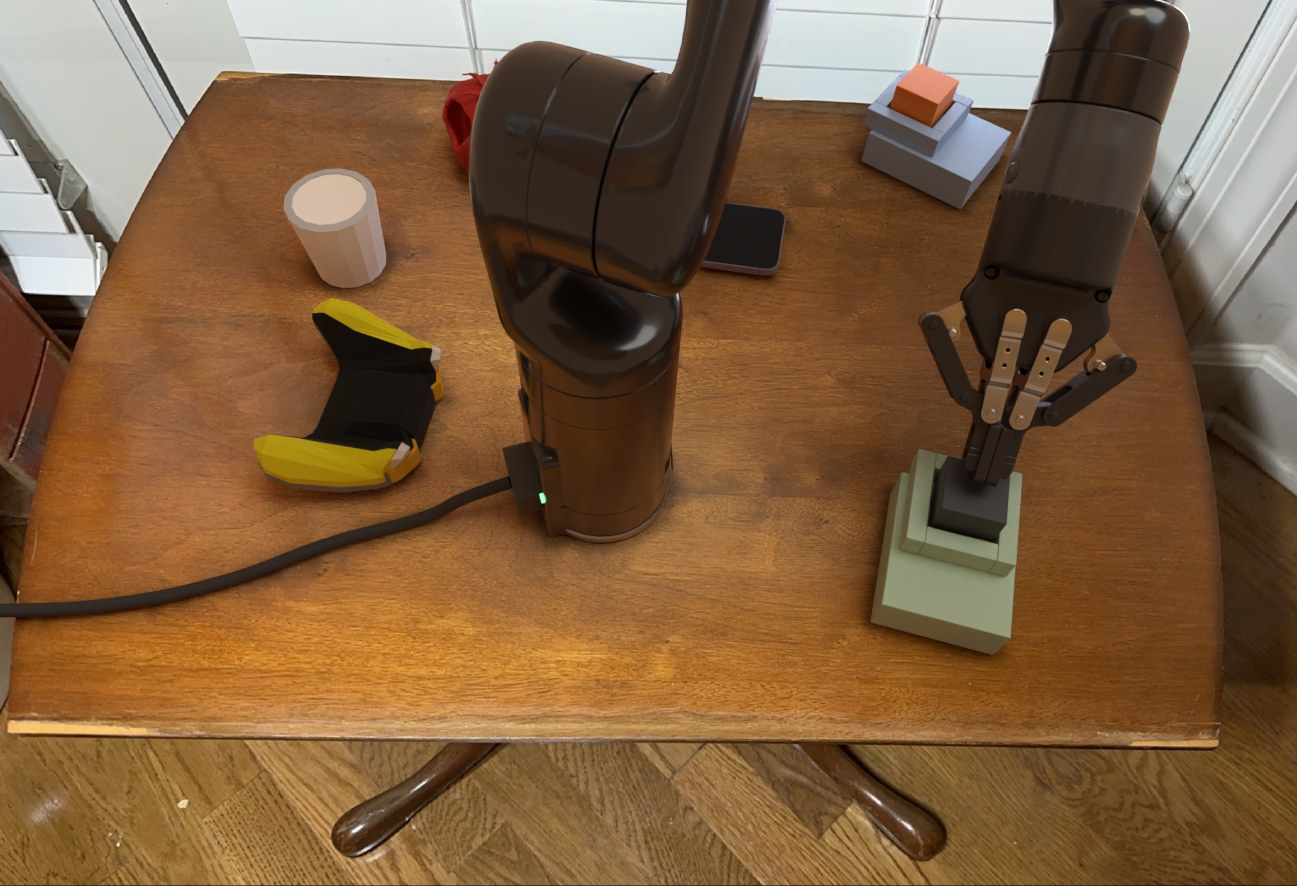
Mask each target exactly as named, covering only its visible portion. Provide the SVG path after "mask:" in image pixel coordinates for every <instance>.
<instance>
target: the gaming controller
mask: <svg viewBox="0 0 1297 886" xmlns="http://www.w3.org/2000/svg"><path fill="white" fill-rule="evenodd" d="M311 321H312V322H313V323H312V324H313V325H314V327H315V328H316V330H317V331H318V333H319V334H320V336H321V338H322V339H323V341H324V342H325V344H326V346H327V348H328V349H329V350H330V352H331V354H332V355H333V357H334V359H335V361H336V363H337V365H338V371H337V377H336V380H335V383H334V385H333V387H332V389H331V392H330V394H329V397H328V398H327V402H326V404H325V406H324V409H323V411H322V414H321V416H320V418H319V421H318V423H317V425H316V427H315V428H314V430H313V431H312V432H311V433H309V434H308V435H306V436H304V437H302V436H294V435H293V436H290V435H282V434H281V435H280V434H271V433H269V434H266V435H262V436H259V437H256V438H254V439H253V448H254V452H255V454H256V458H257V462H258V466H259V468H260V469H261V470H262V472H263V474H264V475H265V477H266V478H267V479H269V480H271V481H273V482H276V483H278V484H280V485H283V486H285V487H288V488H290V489H293V490H304V491H318V492H332V493H350V492H351V493H352V492H361V491H370V490H379V489H383V488H386V487H389V486H390V485H393V484H396V483H397V482H399V481H401V480H402V479H403V478H404V477H406V476H407V475H408V474H409V473H410V472H412V470H414V469H415V468H416V467H418V465H419V463H421V462H422V461H423V457H422V455H421V448H422V445H423V442H424V439H425V436H426V434H427V430H428V428H429V425H430V421H431V418H432V416H433V412H434V410H435V406H436V403H437V401H439V400H440V399H441V398H442V397H444V384H443V379H442V373H441V367H440V362H441V356H442V350H441V348H440V347H438V346H435V345H433V344H432V343H431V342H430V341H424V340H419V339H418V338H416V337H414V336H413V335H411V334H409V333H407V332H405V331H403V330H401V329H400V328H398V327H397V326H394V325H393V324H391V323H390V322H387V321H386V320H384V319H383V318H381V317H379V316H378V315H376V314H374V313H372V312H371V311H369V310H367V309H366V308H364V307H363V306H361V305H359V304H357V303H354V302H351V301H347V300H342V299H339V298H333V297H330V298H328V299H326V300H324V301H322V302H321V303H319V304H317V305H316V306H315V308H314V309H313V310H312V312H311Z"/></svg>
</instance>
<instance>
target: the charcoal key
mask: <svg viewBox="0 0 1297 886" xmlns="http://www.w3.org/2000/svg"><path fill="white" fill-rule="evenodd" d="M946 456H947V458H946V460H945V462H944V463H943V465H942V467H941V468H940V470H939V472H938V473H937V475H936V483H935V491H934V499H933V507H932V515H931V523H930V526H931V527H934V528H938V529H942V530H946V531H950V532H954V533H958V534H962V535H966V536H970V537H974V538H978V539H982V540H986V541H990V542H993V541H994V540H995V538H996V537H997V536H998V534H999V533H1000V532H1001V531H1002V529H1003V528H1004V527H1005V526H1006V524H1007V514H1008V501H1009V488H1010V476H1009V477H1008V478H1007V479H1006V480H1005V479H1001V478H999V482H998V484H997V486H996V487H994V486H989V485H985V484H981V483H977V482H973V481H971V480H970V478H969V477H968V470H966V469H965V468H964V466H963V464H962V457H961V458H960V457H957V456H952V455H946Z"/></svg>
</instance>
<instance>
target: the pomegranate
mask: <svg viewBox="0 0 1297 886" xmlns="http://www.w3.org/2000/svg"><path fill="white" fill-rule="evenodd" d="M498 62H499V60H497V58H495V60H494V62H493V68H492V70H493V69H494V67H495V66H496V64H497V63H498ZM461 75H462V76H471V78H468V79H464V80H460V81H458V82H457V83H455V84H454V85H453V86H451V88H450V89H449V91H448V94H447V97H446V98H445V100H444V104H443V108H442V114H441V118H442V121H443V124H444V125H445V129H446V131H447V134H448V136H449V140H450V142H451V147H452V152H453V154H454V157H455V159H456V161H457V162H458V163H459V165H461V166H462V167H463V168H464V169H465V170H466V171H467V172H469V170H468V167H469V143H470V133H471V127H472V122H473V118H474V113H475V110H476V106H477V103H478V100H479V97H480V94H481V91H482V89H483V86H484V84H485V82H486V80H487V78H488V77H489V75H490V73H482V74H479V73H475V72H467V73H461Z"/></svg>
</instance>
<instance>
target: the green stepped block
mask: <svg viewBox="0 0 1297 886" xmlns="http://www.w3.org/2000/svg"><path fill="white" fill-rule="evenodd" d="M947 456H948V455H945V454H941V453H936V452H934V451H929V450H925V449H920V448H919V449H917V451H916V453H915V455H914V458H913V459H912V461H911V465H910V470H909V471H910V472H909V473H907V472H903V471H902V472H901V473H900V475H899V477H898V478H897V481H896V483H895V484H894V487H892V490H891V492H890V494H889V500H888V506H887V513H886V519H885V525H884V532H883V538H882V545H881V551H880V557H879V565H878V570H877V577H876V582H875V589H874V595H873V602H872V609H871V616H870V621H869V622H870V623H871V624H874V625H878V626H882V627H886V628H890V629H892V630H897V631H901V632H905V633H908V634H913V635H916V636H920V637H923V638H927V639H932V640H935V641H938V642H942V643H946V644H950V645H954V646H957V647H961V648H965V649H969V650H972V651H976V652H980V653H983V654H987V655H991V656H994V655H995V654H996V653H997V652H998V651H999V650H1000V649H1001V648H1002V647H1004V645H1005V644H1006V643H1007V642H1008V641H1009V640H1010V639H1011V638H1012V625H1013V624H1012V623H1013V621H1012V620H1013V609H1014V595H1015V579H1016V567H1017V560H1018V547H1019V546H1018V545H1019V532H1020V519H1021V518H1020V516H1021V501H1022V487H1023V474H1022V473H1019V472H1016V471H1012V473H1011V475H1010V488H1009V501H1008V514H1007V524H1006V526H1005V527H1004V528H1003V529H1002V531H1001V532H1000V533H999V534H998V536H997V537H996V538H995V540H994V541H993V542H990V541H986V540H982V539H978V538H974V537H970V536H966V535H962V534H958V533H954V532H950V531H946V530H942V529H938V528H934V527H931V526H930V523H931V515H932V507H933V499H934V491H935V483H936V475H937V473H938V472H939V470H940V468H941V467H942V465H943V463H944V462H945V460H946V458H947Z"/></svg>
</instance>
